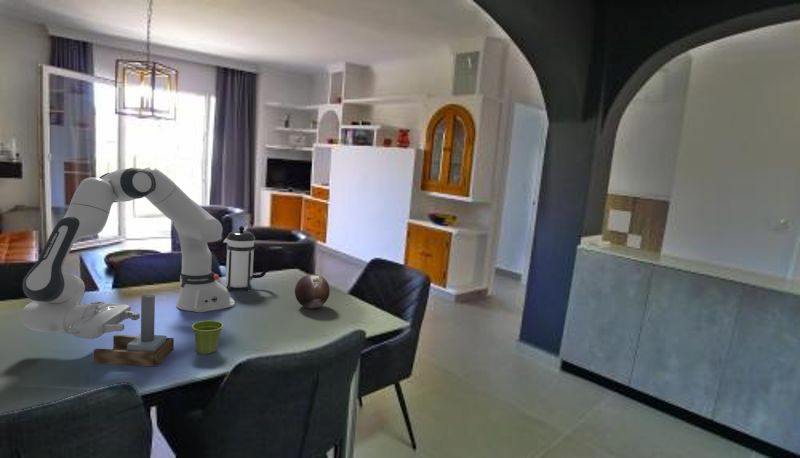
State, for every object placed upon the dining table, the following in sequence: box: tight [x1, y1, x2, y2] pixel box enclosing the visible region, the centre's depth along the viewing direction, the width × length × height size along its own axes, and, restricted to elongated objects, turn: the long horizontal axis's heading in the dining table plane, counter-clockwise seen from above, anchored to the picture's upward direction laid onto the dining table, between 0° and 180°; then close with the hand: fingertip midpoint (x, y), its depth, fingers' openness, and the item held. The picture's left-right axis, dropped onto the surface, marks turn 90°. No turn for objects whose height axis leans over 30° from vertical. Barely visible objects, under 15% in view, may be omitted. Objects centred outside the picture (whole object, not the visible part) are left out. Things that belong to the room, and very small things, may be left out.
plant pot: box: [191, 320, 224, 355], centre depth 149 cm, size 9×9×9 cm
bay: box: [93, 334, 175, 367], centre depth 141 cm, size 18×12×4 cm, turn 95°
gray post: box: [127, 294, 167, 352], centre depth 140 cm, size 8×8×19 cm
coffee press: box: [223, 225, 269, 291], centre depth 218 cm, size 17×16×30 cm
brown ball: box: [294, 273, 331, 309], centre depth 200 cm, size 15×15×15 cm
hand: (131, 322), depth 140 cm, fingers open, 8 cm apart
